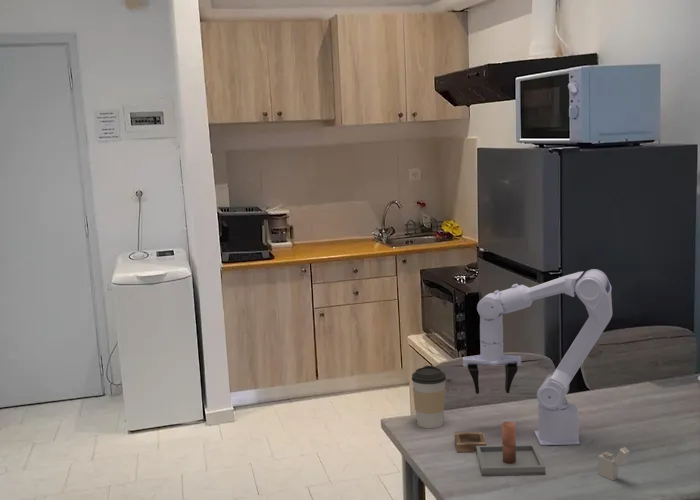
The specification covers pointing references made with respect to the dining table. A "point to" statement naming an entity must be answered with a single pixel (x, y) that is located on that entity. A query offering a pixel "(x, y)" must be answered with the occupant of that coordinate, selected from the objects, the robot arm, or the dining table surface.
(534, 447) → the tray
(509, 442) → the dowel
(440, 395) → the coffee cup
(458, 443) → the collar
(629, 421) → the dining table surface
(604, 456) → the lighter
